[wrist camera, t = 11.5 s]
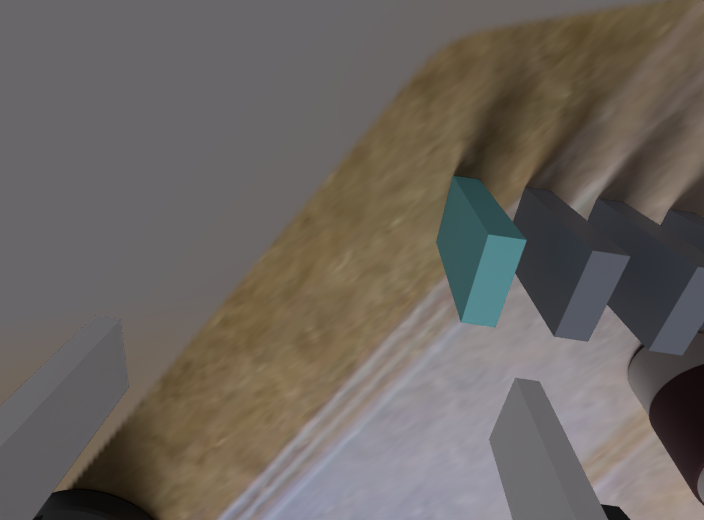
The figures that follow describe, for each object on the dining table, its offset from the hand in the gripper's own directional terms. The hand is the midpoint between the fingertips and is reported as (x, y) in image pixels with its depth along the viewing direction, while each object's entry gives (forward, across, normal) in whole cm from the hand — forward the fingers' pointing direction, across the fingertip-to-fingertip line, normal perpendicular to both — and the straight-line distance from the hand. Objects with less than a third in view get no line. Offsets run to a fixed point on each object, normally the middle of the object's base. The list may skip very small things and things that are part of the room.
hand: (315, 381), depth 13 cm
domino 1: (+18, +8, 0) cm, 20 cm away
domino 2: (+18, +13, 0) cm, 22 cm away
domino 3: (+18, +18, 0) cm, 25 cm away
